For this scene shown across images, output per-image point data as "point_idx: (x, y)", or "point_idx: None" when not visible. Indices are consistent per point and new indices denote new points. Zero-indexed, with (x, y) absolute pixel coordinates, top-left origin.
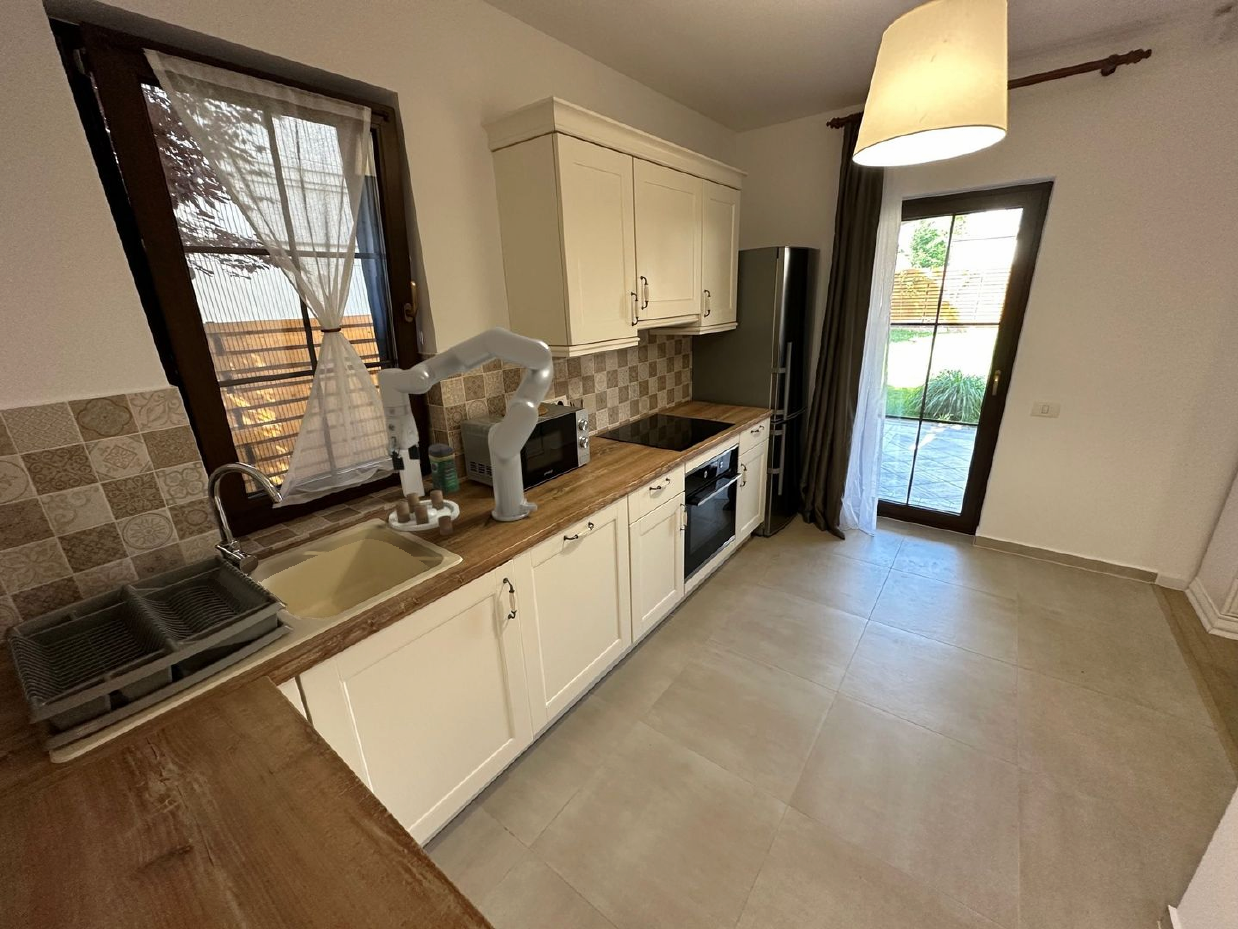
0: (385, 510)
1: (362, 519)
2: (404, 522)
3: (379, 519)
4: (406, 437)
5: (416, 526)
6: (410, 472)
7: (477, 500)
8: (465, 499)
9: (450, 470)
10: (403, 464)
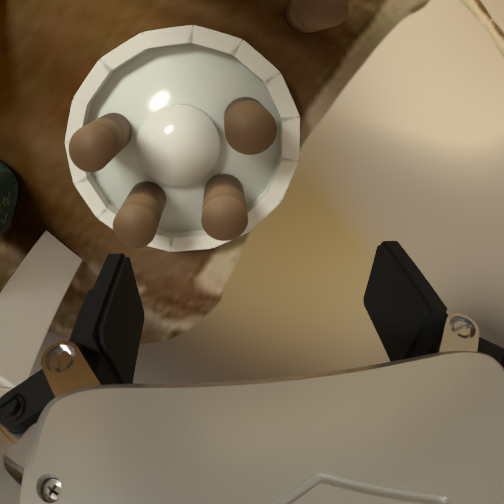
0: (147, 287)
1: (210, 309)
2: (240, 183)
3: (204, 272)
4: (489, 501)
5: (293, 119)
6: (31, 309)
7: (26, 52)
8: (24, 96)
9: None
10: (410, 264)
